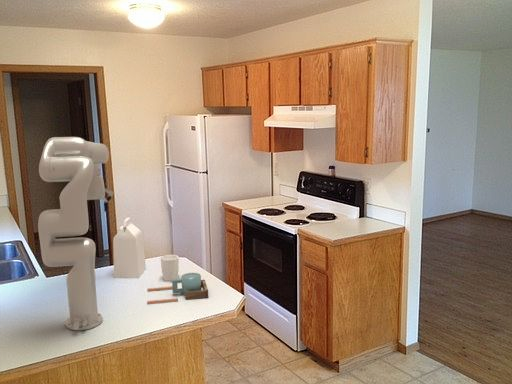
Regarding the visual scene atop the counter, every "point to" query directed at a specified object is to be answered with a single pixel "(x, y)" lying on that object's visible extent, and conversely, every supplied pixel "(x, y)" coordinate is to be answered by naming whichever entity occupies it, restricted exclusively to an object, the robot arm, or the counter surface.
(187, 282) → the jug
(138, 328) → the counter surface
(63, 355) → the counter surface
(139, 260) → the milk
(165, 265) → the white cup
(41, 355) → the counter surface
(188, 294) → the brown wooden frame
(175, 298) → the strips
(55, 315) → the counter surface
